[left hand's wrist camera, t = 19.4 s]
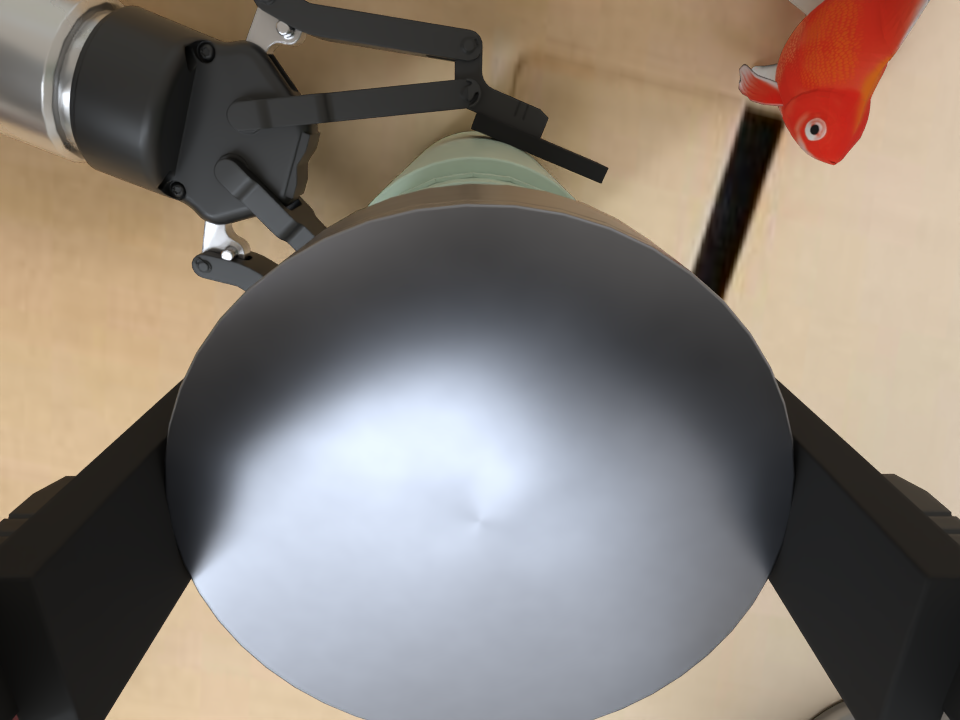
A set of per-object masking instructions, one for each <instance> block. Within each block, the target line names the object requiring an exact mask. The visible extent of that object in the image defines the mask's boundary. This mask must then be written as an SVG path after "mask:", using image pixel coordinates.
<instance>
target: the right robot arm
mask: <svg viewBox="0 0 960 720" xmlns="http://www.w3.org/2000/svg"><path fill="white" fill-rule="evenodd" d="M254 1H255V3H256V5H257V6H258V8H257V11H256V13H255V16H254V19H253V22H252V25H251V28H250V30H249V33H248V36H247V39H246V41H235V42H223V41H220V40H217V39H215V38H212V37H210V36H208V35H205V34H203V33H200V32H198V31H196V30H193V29H191V28H188V27H186V26H184V25H181V24H179V23H176V22H174V21H172V20H169V19H167V18H164V17H162V16H160V15H157V14H155V13H152V12H150V11H147V10H145V9H143V8H140V7H138V6H124V5H123V4H122V3H121V2H120V1H119V0H0V134H3V135H6V136H8V137H11V138H13V139H16V140H19V141H21V142H24V143H26V144H29V145H32V146H34V147H37V148H39V149H42V150H45V151H47V152H50V153H52V154H55V155H57V156H60V157H63V158H65V159H68V160H70V161H73V162H87V163H88V164H89V165H90V166H91V167H93V168H94V169H96V170H98V171H101V172H103V173H106V174H108V175H111V176H114V177H116V178H119V179H122V180H124V181H127V182H130V183H132V184H135V185H138V186H140V187H143V188H146V189H148V190H151V191H153V192H156V193H159V194H161V195H164V196H167V197H170V198H173V199H176V200H179V201H181V202H183V203H185V204H186V205H188V206H189V207H191V208H192V209H193V210H194V211H195V212H196V213H197V214H198V215H199V216H200V217H201V218H202V219H203V220H205V227H204V237H203V248H202V253H201V254H199V255H197V256H196V257H195V258H194V259H193V261H192V268H193V270H194V272H195V273H196V274H197V275H198V276H200V277H202V278H206V279H210V280H214V281H218V282H222V283H226V284H230V285H234V286H238V287H239V288H241V289H243V290H244V291H246V290H247V289H248V288H249V287H251V286H252V285H253V284H255V283H256V282H257V281H258V280H260V279H261V278H262V277H264V276H265V275H266V274H267V273H269V272H270V271H271V270H272V269H274V268H275V267H276V266H278V264H276V263H275V262H273V261H271V260H270V259H268V258H266V257H264V256H262V255H260V254H257V253H255V252H252V251H250V246H249V244H248V242H247V241H246V240H245V239H243V238H241V237H239V236H238V235H237V234H236V233H235V232H234V230H233V228H232V223H234V222H237V221H241V220H245V219H249V218H252V217H257V218H258V219H259V220H260V221H261V222H262V223H263V224H264V225H265V226H266V227H267V228H268V229H269V230H270V231H271V232H272V233H273V234H274V235H276V236H277V237H278V238H279V239H281V240H284V241H286V242H287V243H289V244H290V245H291V246H292V247H293V248H294V249H295V250H296V251H297V250H298V249H300V248H301V247H302V246H304V245H305V244H306V243H307V242H309V241H310V240H311V239H313V238H314V237H315V236H317V235H318V234H319V233H320V232H322V231H323V230H325V229H326V227H325V226H324V225H323V224H322V223H321V222H320V220H319V219H318V218H317V217H316V216H315V213H314V211H313V210H312V208H311V207H310V206H309V205H308V204H307V203H306V202H305V201H304V200H303V199H302V198H301V197H300V195H302V194H304V190H305V187H306V183H307V180H308V161H309V159H310V158H311V156H312V154H313V153H314V151H315V149H316V147H317V144H318V140H319V137H320V132H318V127H317V123H327V122H336V121H346V120H356V119H366V118H376V117H386V116H395V115H405V114H415V113H425V112H435V111H445V110H455V109H465V108H467V109H469V110H471V111H474V112H476V116H475V119H474V122H473V124H472V127H471V129H473V130H475V131H478V132H480V133H482V134H485V135H487V136H489V137H492V138H494V139H497V140H499V141H501V142H504V143H506V144H508V145H511V146H513V147H516V148H518V149H520V150H523V151H525V152H527V153H530V154H532V155H534V156H537V157H539V158H542V159H544V160H546V161H549V162H551V163H553V164H556V165H558V166H561V167H563V168H565V169H568V170H570V171H572V172H575V173H577V174H580V175H582V176H584V177H587V178H589V179H591V180H594V181H596V182H599V183H602V181H603V179H604V177H605V175H606V172H607V170H608V168H607V167H605V166H603V165H601V164H599V163H597V162H595V161H593V160H590V159H588V158H585V157H583V156H581V155H578V154H576V153H574V152H571V151H569V150H567V149H564V148H562V147H560V146H557V145H555V144H553V143H550V142H548V141H546V140H543V139H541V135H542V133H543V130H544V128H545V125H546V123H547V121H548V117H547V116H546V115H545V114H544V113H543V112H542V111H541V110H540V109H538V108H536V107H534V106H531V105H529V104H527V103H524V102H522V101H520V100H517V99H515V98H513V97H511V96H508V95H506V94H504V93H501V92H499V91H497V90H494V89H492V88H491V87H489V86H488V85H487V84H486V82H485V81H484V79H483V76H482V40H481V38H480V36H479V35H478V34H477V33H476V32H474V31H472V30H467V29H461V28H455V27H449V26H443V25H437V24H431V23H425V22H419V21H413V20H407V19H401V18H395V17H389V16H383V15H377V14H372V13H366V12H360V11H354V10H348V9H342V8H336V7H330V6H324V5H318V4H312V3H309V2H307V1H305V0H254ZM307 34H309V35H311V36H314V37H317V38H319V39H322V40H326V41H331V42H337V43H343V44H349V45H355V46H361V47H367V48H373V49H379V50H385V51H392V52H398V53H404V54H410V55H416V56H422V57H428V58H434V59H441V60H447V61H453V62H455V80H449V81H439V82H430V83H420V84H410V85H400V86H391V87H381V88H371V89H361V90H352V91H342V92H332V93H319V94H309V95H301V94H300V93H299V91H298V90H297V88H296V87H295V85H294V84H293V82H292V81H291V80H290V78H289V77H288V75H287V74H286V72H285V71H284V69H283V68H282V66H281V65H280V63H279V62H278V61H277V59H276V58H275V56H274V55H273V52H274V51H275V49H276V48H277V47H278V46H280V45H290V46H299V45H301V44H302V43H303V42H304V40H305V39H306V36H307Z"/></svg>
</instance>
